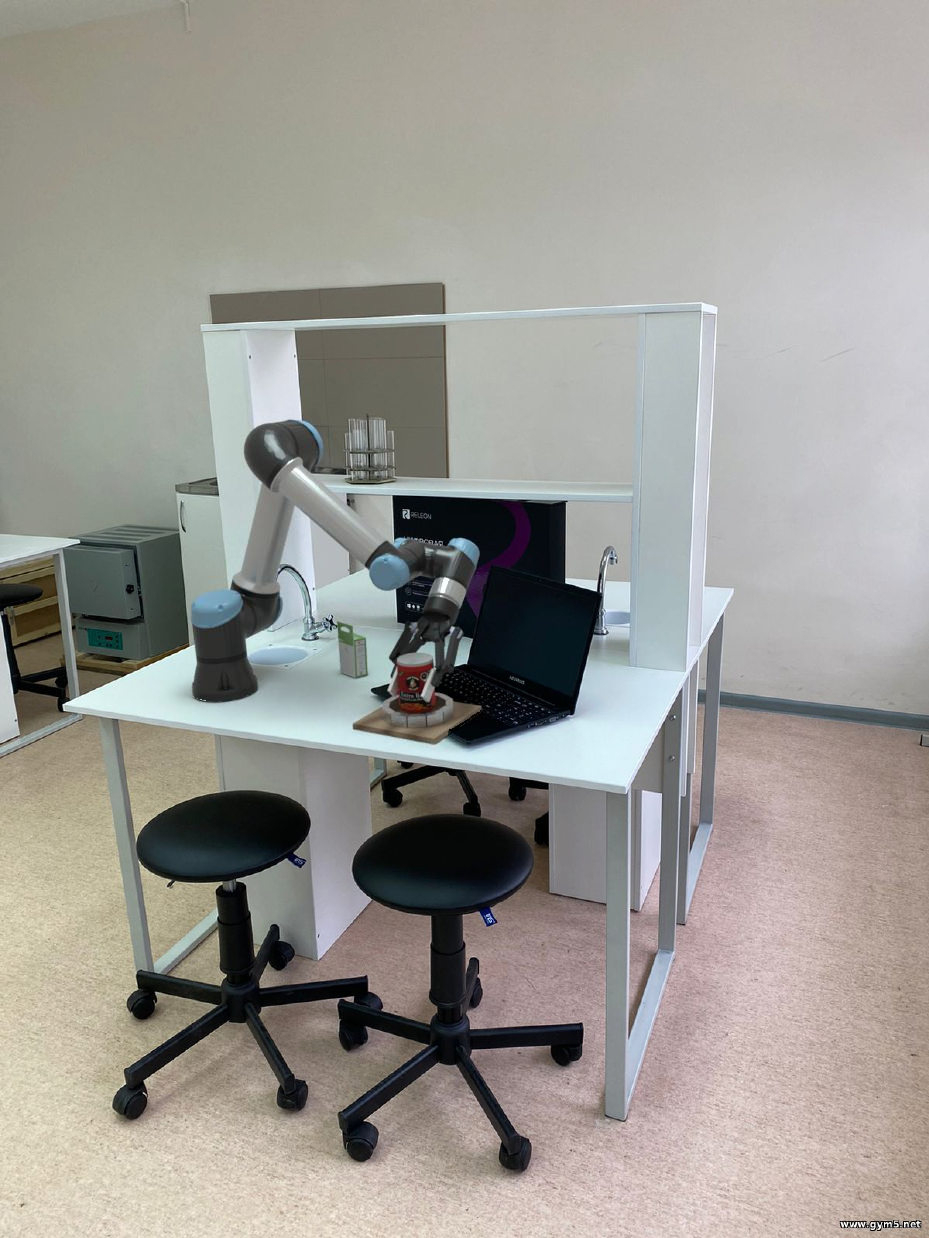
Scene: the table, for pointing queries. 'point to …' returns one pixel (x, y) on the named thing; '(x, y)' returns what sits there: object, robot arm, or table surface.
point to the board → (427, 735)
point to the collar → (417, 719)
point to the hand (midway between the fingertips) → (408, 696)
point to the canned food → (414, 682)
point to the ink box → (352, 652)
